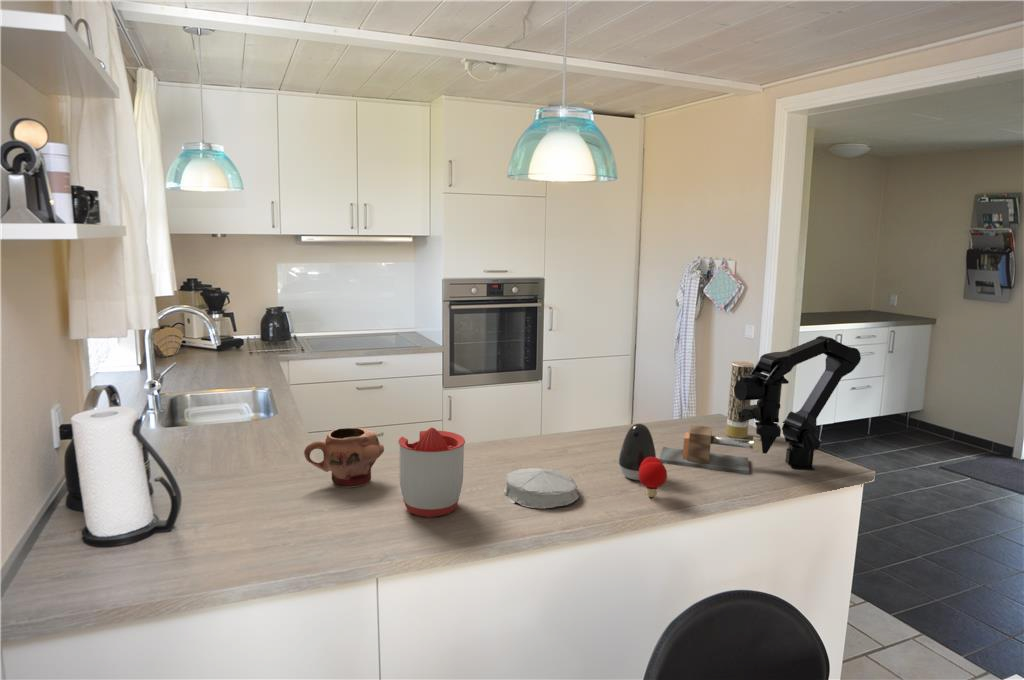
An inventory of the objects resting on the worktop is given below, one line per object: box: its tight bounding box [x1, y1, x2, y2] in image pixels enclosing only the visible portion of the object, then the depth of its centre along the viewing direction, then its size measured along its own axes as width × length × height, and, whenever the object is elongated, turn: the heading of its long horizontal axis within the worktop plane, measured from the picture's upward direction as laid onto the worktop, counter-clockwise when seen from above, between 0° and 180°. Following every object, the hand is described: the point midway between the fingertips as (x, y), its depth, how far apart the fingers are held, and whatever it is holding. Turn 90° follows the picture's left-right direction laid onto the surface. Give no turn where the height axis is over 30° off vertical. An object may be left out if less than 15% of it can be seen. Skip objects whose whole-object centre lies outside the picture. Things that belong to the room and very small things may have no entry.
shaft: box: [711, 435, 765, 455], centre depth 196 cm, size 18×4×4 cm, turn 72°
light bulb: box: [638, 456, 668, 499], centre depth 170 cm, size 9×7×10 cm
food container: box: [503, 466, 580, 510], centre depth 171 cm, size 20×20×7 cm
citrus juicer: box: [398, 427, 466, 518], centre depth 159 cm, size 16×17×20 cm
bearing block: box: [658, 424, 750, 475], centre depth 198 cm, size 25×12×10 cm, turn 72°
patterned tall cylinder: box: [725, 361, 755, 439], centre depth 223 cm, size 7×7×25 cm
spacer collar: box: [682, 432, 690, 459], centre depth 200 cm, size 1×6×6 cm, turn 162°
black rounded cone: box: [618, 423, 657, 481], centre depth 183 cm, size 10×10×15 cm
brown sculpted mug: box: [303, 427, 385, 488], centre depth 172 cm, size 20×12×14 cm, turn 115°
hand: (764, 451), depth 193 cm, fingers closed on shaft, 4 cm apart
